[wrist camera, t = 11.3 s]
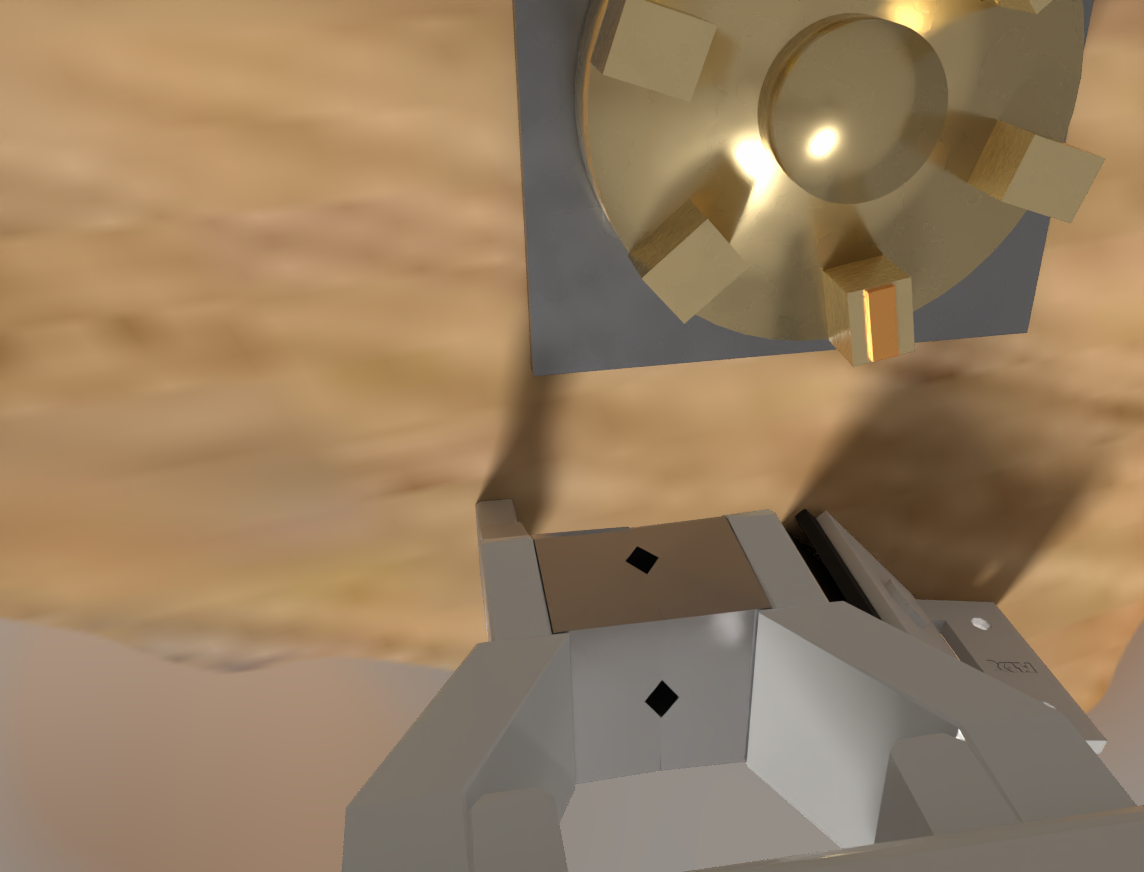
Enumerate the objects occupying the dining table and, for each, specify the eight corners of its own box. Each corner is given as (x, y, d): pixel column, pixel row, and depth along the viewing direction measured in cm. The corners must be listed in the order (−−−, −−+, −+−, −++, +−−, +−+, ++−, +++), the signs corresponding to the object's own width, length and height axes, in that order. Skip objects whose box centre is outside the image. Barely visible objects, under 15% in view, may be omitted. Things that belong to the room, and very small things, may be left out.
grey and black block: (998, 602, 54) (1113, 743, 45) (930, 672, 56) (1028, 821, 47) (804, 495, 49) (892, 631, 40) (736, 576, 51) (806, 723, 42)
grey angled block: (517, 572, 49) (536, 688, 42) (480, 576, 48) (493, 693, 41) (510, 441, 45) (530, 543, 38) (471, 444, 45) (483, 548, 38)
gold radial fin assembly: (524, -119, 34) (545, -119, 29) (1042, -247, 34) (1150, -268, 30) (623, 359, 43) (652, 422, 38) (1035, 252, 43) (1117, 300, 38)
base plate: (531, 368, 44) (533, 377, 43) (499, -253, 33) (501, -256, 32) (1017, 325, 46) (1028, 333, 45) (1132, -264, 36) (1149, -267, 35)
